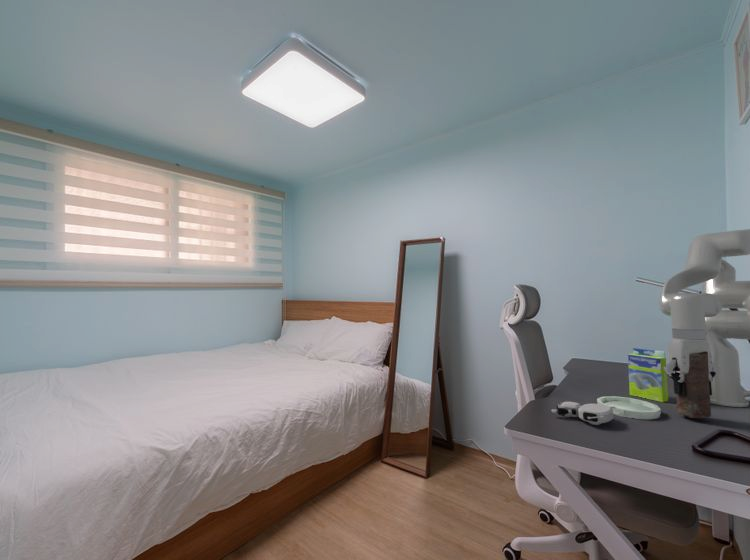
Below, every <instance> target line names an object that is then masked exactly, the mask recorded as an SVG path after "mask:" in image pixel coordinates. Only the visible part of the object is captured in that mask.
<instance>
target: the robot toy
mask: <svg viewBox="0 0 750 560" xmlns="http://www.w3.org/2000/svg"><path fill="white" fill-rule="evenodd" d="M612 408H615V406H613V407H609V406H607V405H600V404H598V403H585V404H583V405H581V404H580V403H579V402H574V401H564V402H559V403H558V404H557V405H556V409H554V408H552V409H551V413H553V414H557V416H558V415H559V416H561V415H562V416H565V417H567V418H571V417H572V418H579V419H580V420H582V421H584V422H588V423H589V424H590V425H592V426H599V425H601V424H606V423H609V422H611V421H612V420H613V419H614V417H615V415H613V409H612Z"/></svg>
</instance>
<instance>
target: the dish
mask: <svg viewBox="0 0 750 560" xmlns="http://www.w3.org/2000/svg"><path fill="white" fill-rule="evenodd" d="M596 402H597V403H596V404H600V405H607V406H609V407H613V406H615V408H612V409H613V416H616V417H620V418H621V417H622V418H626V417H627V419H632V418H634V420H644V421H646V420H649V421H650V420H657V419H659V418H661V413H662V409H661V408H660V406H658V405H657V404H655V403H652V402H649V401H647V400H642V399H637V398H633V397H625V396H624V397H623V396H615V395H612V396H611V395H610V396H609V395H608V396H600V397H597V399H596Z"/></svg>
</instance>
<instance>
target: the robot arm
mask: <svg viewBox="0 0 750 560" xmlns="http://www.w3.org/2000/svg"><path fill="white" fill-rule="evenodd" d="M688 247H689V248H688V252H687V257H686V262H685V266H684V268H682V269H680V270H679V271H677V272H675V274H673V275H672V276H671V277H669V278H668V279H667V280H666V281H665V282H664V284H663V285H662V289H661V293H660V297H659V302H658V304H659V310H660V311H661V312H662V314H663V315H666V316H669V317H670V319H671V320H670V321H671V334H672V335H671V336H672V338H670V339H669V342H668V347H667V351H668V352H667V363H666V366H665V367H664V370H665V372H666V373H667V377H669V378H670V380H671V381H673V393H674V394H675V395H677V394H678V395H681V396H686V384H685V383H684V382H683V381H684V379H685V376H686V374H688V373H689V355H691V354H699V353H702V352H706V351H707V352H708V369H709V389H710V404H713V405H718V406H724V407H732V408H746V407H749V406H750V402H749V401H748V400H746V399H745V398H748V397H750V390H743V389H742V386H741V371H740V358H739V356H740V355H739V352H738V350H737V348H736V347H735V346H734V345H733V344H732V343H731V342H730V341H729V340H728V339H734V340H749V341H750V280H736V279H737V277H736V273H737V272H736V269H735V267H734V266H733V265H732V264H730V263H729V262H728V261H726V260H725V259H723V258H728V257H739V256H750V228H747V229H746V228H745V229H739V230H728V231H720V232H714V233H713V232H711V233H710V232H709V233H705V234H700V235H698V236H695V237H694V238H692V239H691V241H690V244H689V246H688ZM699 284H701V292H682V293H681V291H684V289H688V288H689V287H693V286H696V285H699ZM729 309H745V310H729ZM677 366H678V367H679V368H680V371H678V367H677ZM678 374H680V376H678Z"/></svg>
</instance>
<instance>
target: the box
mask: <svg viewBox="0 0 750 560" xmlns="http://www.w3.org/2000/svg"><path fill="white" fill-rule="evenodd" d="M632 351H633V352H632V353H628V354H627V362H628V365H627V366H628V381H629V382H628V384H629V385H628V386H629V387H628V388H629V396H633V397H637V396H638V397H637V398H641V397H642V399H645V398H646V399H645V400H649V401H655V402H658V403H659V402H660V403H665V402H668V401H669V391H668V389H669V388H668V374H667V373H666V372H665V370H664V367H665V366H666V365H667V359H666V351H664V350H657V349H655V350H654V349H644V348H635V347H633V348H632ZM645 352H649V353H645ZM651 353H652V354H651Z"/></svg>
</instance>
